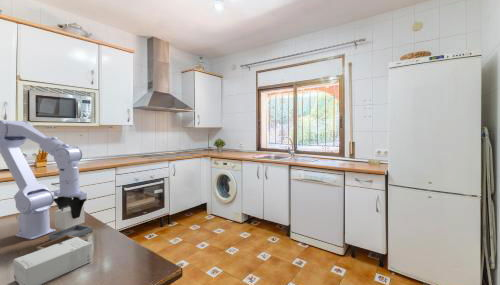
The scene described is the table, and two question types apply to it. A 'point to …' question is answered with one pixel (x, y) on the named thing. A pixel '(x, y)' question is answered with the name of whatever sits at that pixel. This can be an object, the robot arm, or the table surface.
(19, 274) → the skincare box
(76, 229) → the slate drawer housing
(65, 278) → the table surface
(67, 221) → the white drawer with handle
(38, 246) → the walnut bay
